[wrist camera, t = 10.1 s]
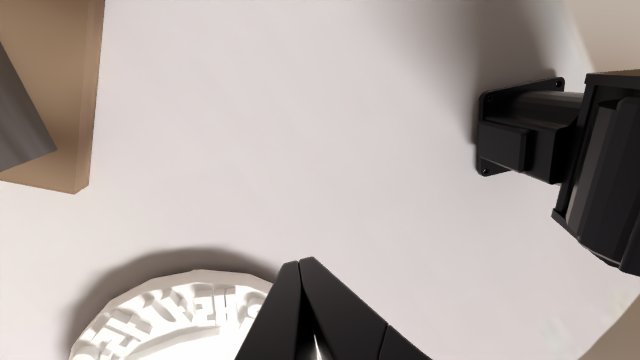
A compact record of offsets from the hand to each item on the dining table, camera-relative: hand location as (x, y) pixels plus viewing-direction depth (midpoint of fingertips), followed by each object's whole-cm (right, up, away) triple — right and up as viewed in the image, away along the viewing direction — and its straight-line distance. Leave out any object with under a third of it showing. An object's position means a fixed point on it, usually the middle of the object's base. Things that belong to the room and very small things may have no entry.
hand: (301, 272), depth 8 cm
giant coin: (-9, -13, +18) cm, 24 cm away
